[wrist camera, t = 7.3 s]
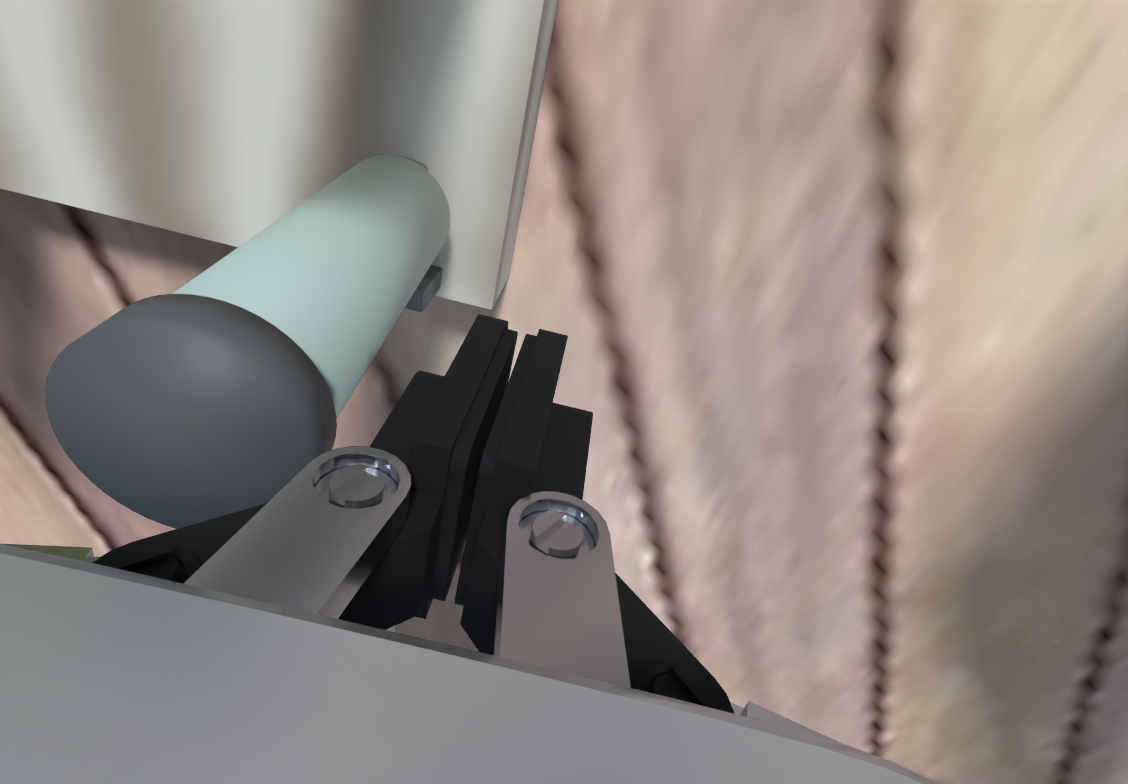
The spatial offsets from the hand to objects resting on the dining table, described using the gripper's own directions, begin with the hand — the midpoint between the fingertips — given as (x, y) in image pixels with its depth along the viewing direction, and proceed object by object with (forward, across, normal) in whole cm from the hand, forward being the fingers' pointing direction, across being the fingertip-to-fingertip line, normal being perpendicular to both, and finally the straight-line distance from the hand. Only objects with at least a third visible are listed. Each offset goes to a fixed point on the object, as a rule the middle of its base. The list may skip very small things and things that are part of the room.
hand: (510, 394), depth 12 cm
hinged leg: (+8, +5, 0) cm, 9 cm away
